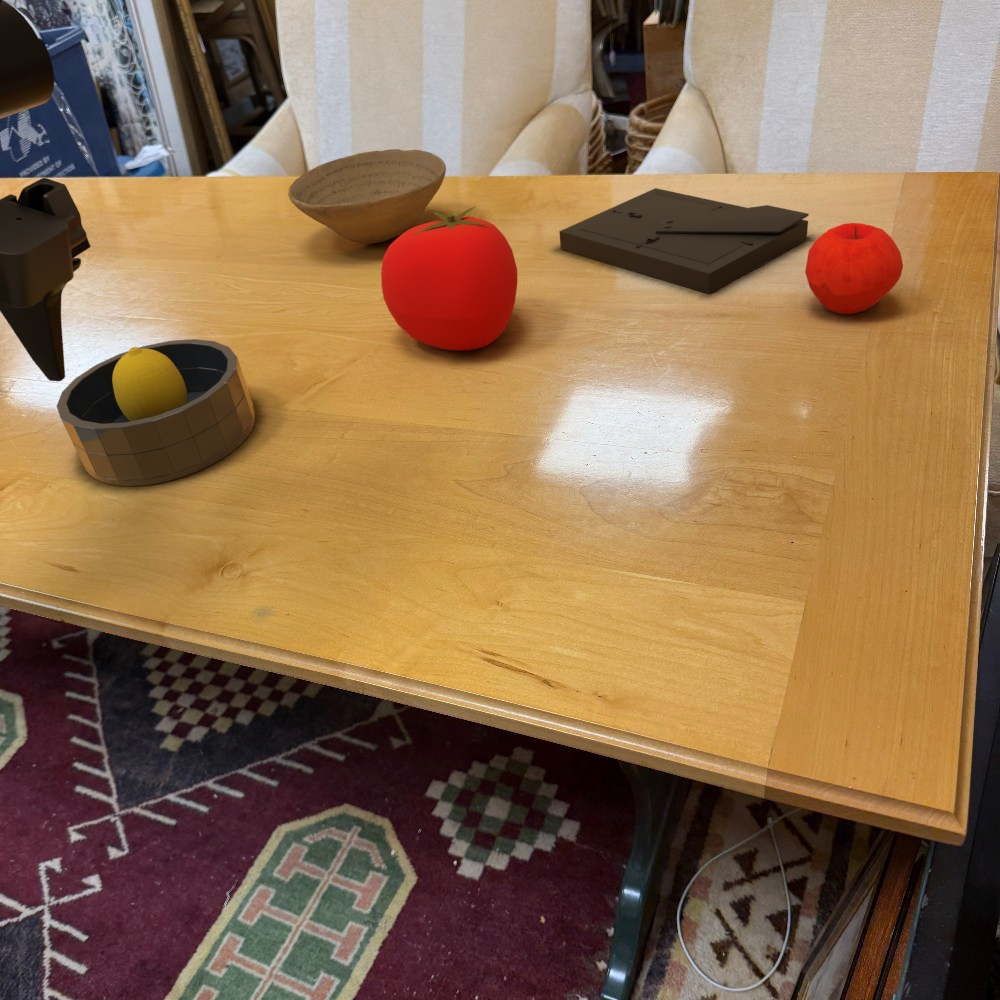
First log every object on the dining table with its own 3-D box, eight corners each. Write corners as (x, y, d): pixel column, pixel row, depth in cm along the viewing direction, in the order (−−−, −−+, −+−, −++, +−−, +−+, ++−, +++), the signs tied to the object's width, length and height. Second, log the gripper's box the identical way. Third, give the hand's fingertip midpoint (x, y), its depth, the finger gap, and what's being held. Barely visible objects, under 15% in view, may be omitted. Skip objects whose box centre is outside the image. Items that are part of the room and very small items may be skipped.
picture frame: (806, 240, 95) (655, 205, 109) (808, 213, 93) (655, 181, 107) (709, 294, 88) (560, 249, 101) (709, 266, 86) (558, 224, 99)
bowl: (353, 282, 101) (337, 211, 96) (278, 246, 113) (260, 182, 109) (484, 229, 109) (474, 162, 104) (400, 201, 121) (388, 140, 117)
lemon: (189, 407, 81) (158, 325, 76) (207, 433, 77) (175, 348, 72) (127, 430, 79) (92, 348, 74) (142, 457, 75) (105, 372, 70)
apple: (915, 306, 80) (928, 225, 76) (851, 336, 78) (861, 253, 73) (844, 280, 86) (853, 203, 82) (782, 307, 83) (788, 228, 79)
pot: (70, 502, 72) (40, 444, 69) (98, 412, 84) (74, 359, 80) (254, 462, 73) (233, 404, 70) (256, 380, 85) (239, 326, 82)
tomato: (428, 385, 80) (404, 261, 73) (378, 329, 90) (353, 216, 84) (552, 343, 83) (539, 221, 77) (490, 294, 94) (474, 183, 87)
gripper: (-149, 224, 38) (16, 518, 47) (112, 102, 52) (200, 347, 61) (-337, 230, 41) (-147, 505, 50) (-42, 113, 55) (63, 345, 64)
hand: (10, 417), depth 56 cm, fingers open, 9 cm apart
